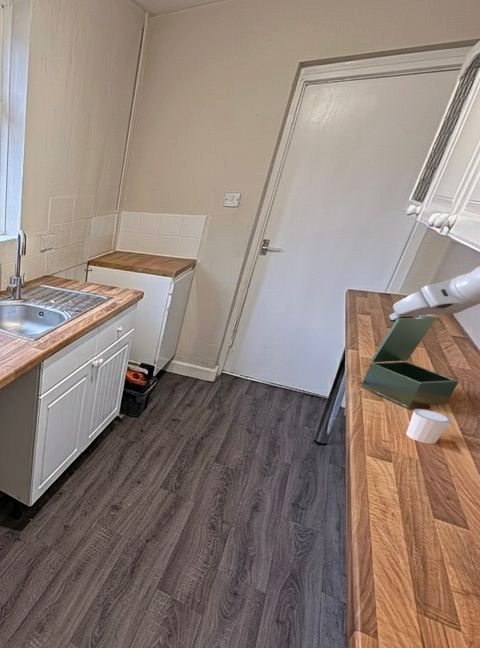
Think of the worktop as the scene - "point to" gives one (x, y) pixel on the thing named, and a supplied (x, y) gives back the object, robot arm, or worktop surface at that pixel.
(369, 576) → the worktop surface
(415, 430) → the white ramekin
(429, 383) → the green box
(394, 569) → the worktop surface
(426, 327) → the box lid
